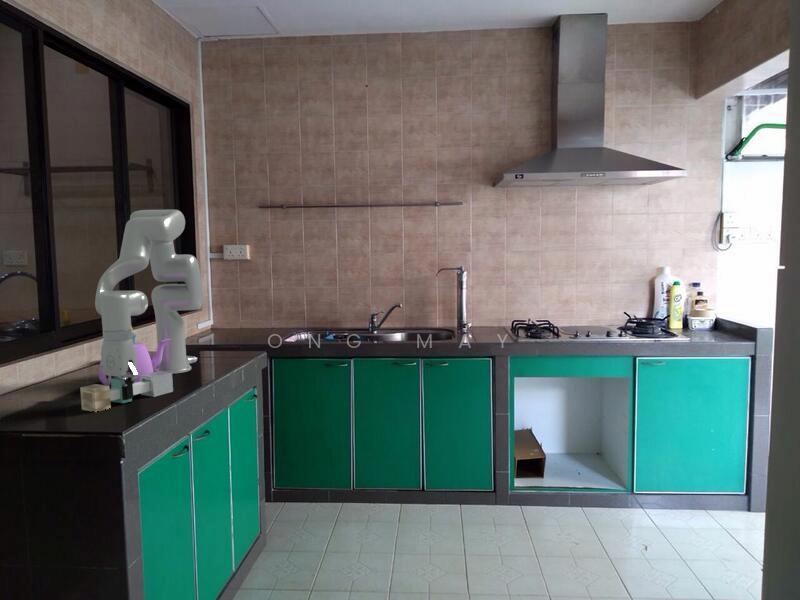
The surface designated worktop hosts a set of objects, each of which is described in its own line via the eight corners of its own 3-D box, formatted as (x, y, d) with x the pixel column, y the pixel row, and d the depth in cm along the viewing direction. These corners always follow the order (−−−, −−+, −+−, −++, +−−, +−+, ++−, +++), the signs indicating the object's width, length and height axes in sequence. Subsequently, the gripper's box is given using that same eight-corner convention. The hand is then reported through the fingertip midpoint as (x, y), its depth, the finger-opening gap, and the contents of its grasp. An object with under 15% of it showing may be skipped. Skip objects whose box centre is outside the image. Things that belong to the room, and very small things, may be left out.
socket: (96, 405, 173) (95, 384, 172) (110, 408, 169) (109, 386, 169) (81, 409, 169) (80, 387, 168) (95, 412, 166) (94, 389, 165)
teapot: (98, 394, 187) (94, 346, 185) (100, 381, 206) (97, 337, 204) (176, 385, 196) (173, 339, 195) (171, 374, 215) (169, 332, 214)
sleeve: (160, 389, 191) (159, 371, 190) (173, 391, 188) (172, 372, 187) (140, 394, 185) (139, 375, 184) (153, 396, 182) (152, 377, 181)
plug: (147, 392, 186) (146, 370, 186) (158, 394, 184) (156, 371, 183) (91, 406, 170) (89, 383, 170) (101, 408, 168) (99, 384, 167)
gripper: (87, 336, 175) (91, 398, 177) (124, 339, 167) (129, 404, 168) (111, 332, 182) (115, 392, 183) (148, 335, 173) (152, 398, 175)
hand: (121, 397), depth 176 cm, fingers closed on plug, 4 cm apart
